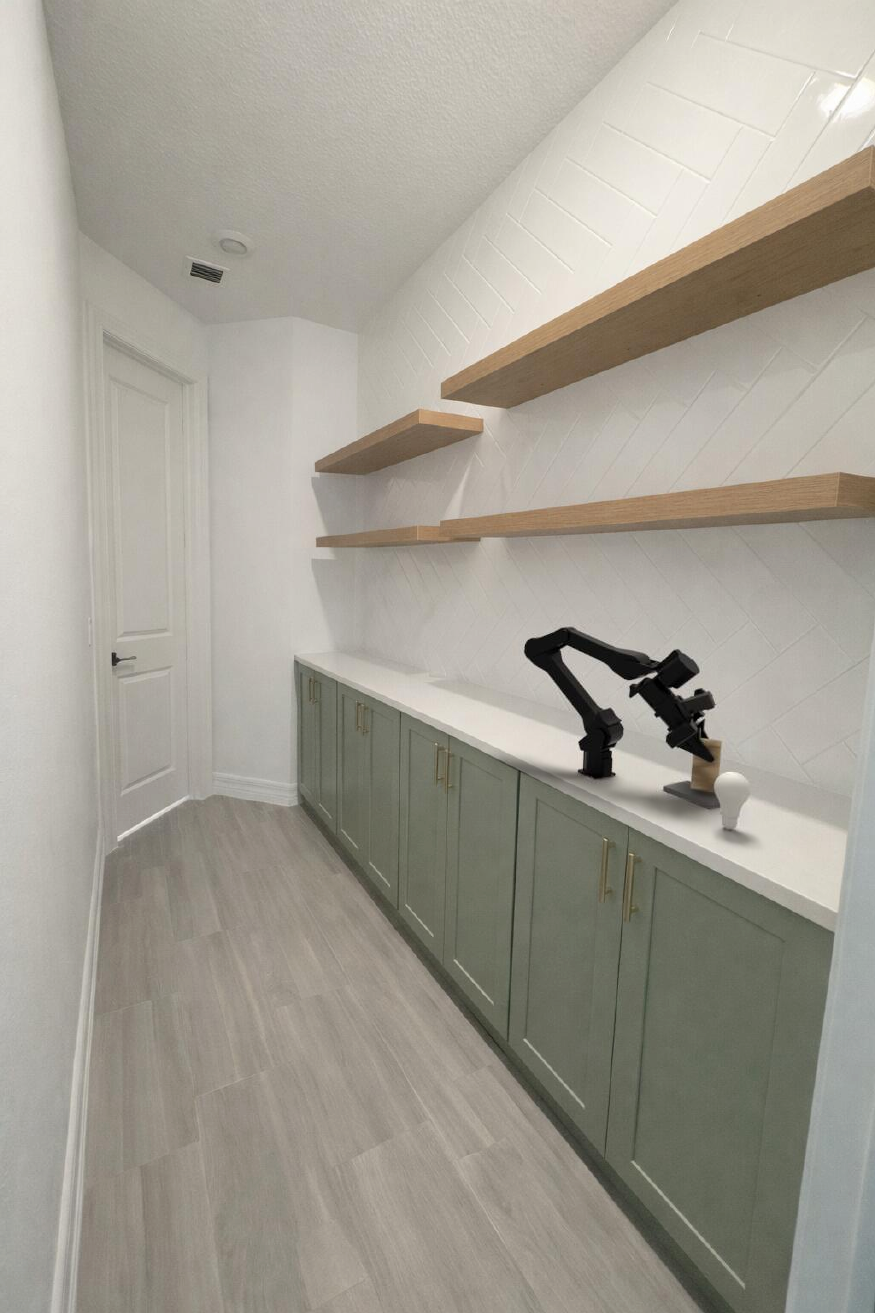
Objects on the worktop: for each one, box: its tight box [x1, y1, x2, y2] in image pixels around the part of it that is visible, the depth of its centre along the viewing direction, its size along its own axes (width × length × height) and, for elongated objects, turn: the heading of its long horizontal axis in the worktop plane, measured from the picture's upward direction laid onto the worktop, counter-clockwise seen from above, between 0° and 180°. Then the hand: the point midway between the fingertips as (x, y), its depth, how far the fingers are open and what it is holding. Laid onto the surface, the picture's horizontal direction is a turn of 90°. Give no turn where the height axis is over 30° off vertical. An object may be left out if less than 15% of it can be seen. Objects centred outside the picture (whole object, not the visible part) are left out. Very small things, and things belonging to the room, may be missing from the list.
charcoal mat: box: [662, 780, 721, 810], centre depth 129 cm, size 12×8×1 cm, turn 29°
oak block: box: [690, 738, 723, 793], centre depth 128 cm, size 5×5×10 cm
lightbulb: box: [714, 771, 751, 830], centre depth 112 cm, size 6×6×11 cm
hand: (713, 757), depth 127 cm, fingers open, 5 cm apart
